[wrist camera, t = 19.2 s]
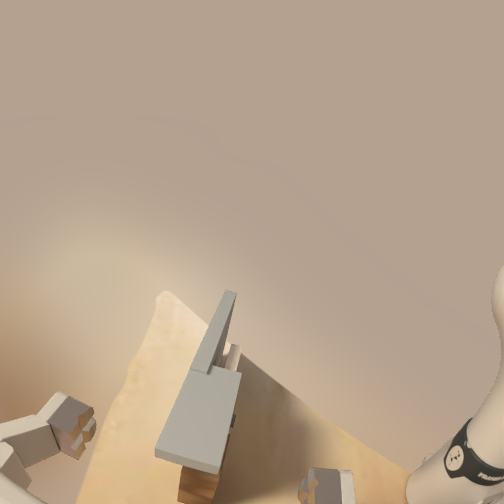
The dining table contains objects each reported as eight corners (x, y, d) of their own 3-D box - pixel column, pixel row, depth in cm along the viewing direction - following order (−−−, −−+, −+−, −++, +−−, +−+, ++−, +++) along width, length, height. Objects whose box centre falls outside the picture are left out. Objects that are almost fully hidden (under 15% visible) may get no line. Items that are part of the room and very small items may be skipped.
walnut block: (218, 469, 35) (230, 434, 33) (208, 509, 29) (219, 480, 26) (190, 462, 36) (196, 425, 33) (177, 501, 29) (181, 470, 26)
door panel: (235, 403, 49) (251, 348, 45) (220, 468, 35) (237, 417, 31) (218, 398, 49) (231, 343, 45) (199, 463, 35) (210, 411, 32)
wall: (241, 364, 59) (258, 298, 55) (202, 518, 27) (220, 464, 22) (211, 356, 60) (225, 289, 55) (155, 505, 27) (154, 445, 23)
